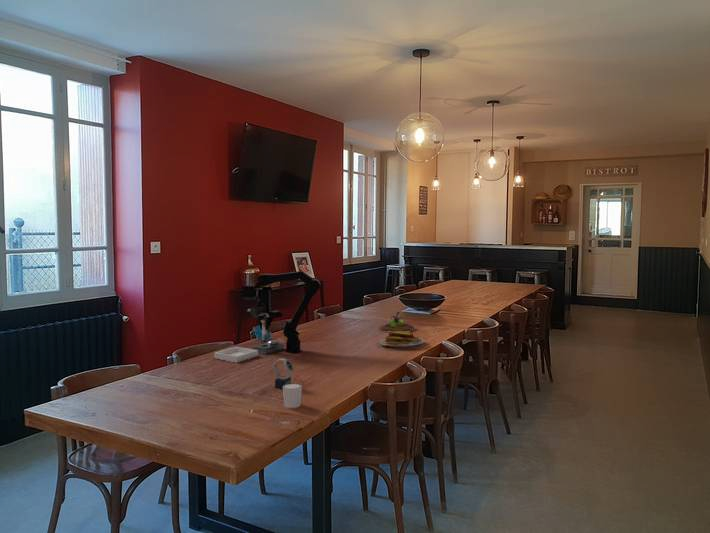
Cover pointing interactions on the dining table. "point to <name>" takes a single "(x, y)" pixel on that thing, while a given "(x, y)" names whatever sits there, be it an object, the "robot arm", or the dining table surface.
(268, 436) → the dining table surface
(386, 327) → the plant
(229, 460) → the dining table surface
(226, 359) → the tray
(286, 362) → the watch
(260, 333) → the gear
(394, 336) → the food on plate
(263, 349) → the block
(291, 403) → the shot glass
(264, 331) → the pin
